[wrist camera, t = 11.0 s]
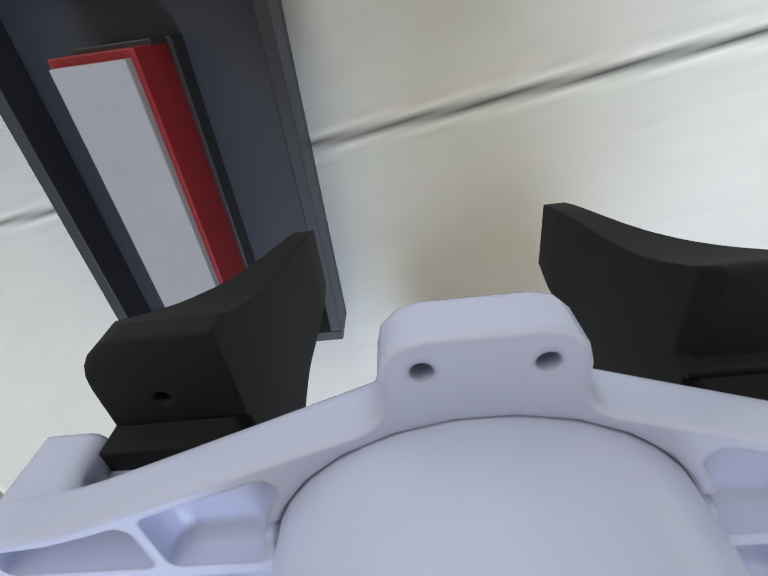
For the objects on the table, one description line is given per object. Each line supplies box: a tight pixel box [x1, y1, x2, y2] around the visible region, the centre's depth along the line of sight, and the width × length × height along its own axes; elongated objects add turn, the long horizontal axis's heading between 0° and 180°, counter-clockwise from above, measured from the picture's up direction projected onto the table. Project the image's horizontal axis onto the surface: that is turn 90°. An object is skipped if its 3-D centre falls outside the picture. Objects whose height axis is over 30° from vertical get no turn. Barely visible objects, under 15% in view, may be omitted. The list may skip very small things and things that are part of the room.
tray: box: [0, 0, 346, 341], centre depth 21 cm, size 18×12×2 cm
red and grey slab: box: [48, 33, 256, 307], centre depth 20 cm, size 13×4×4 cm, turn 7°
